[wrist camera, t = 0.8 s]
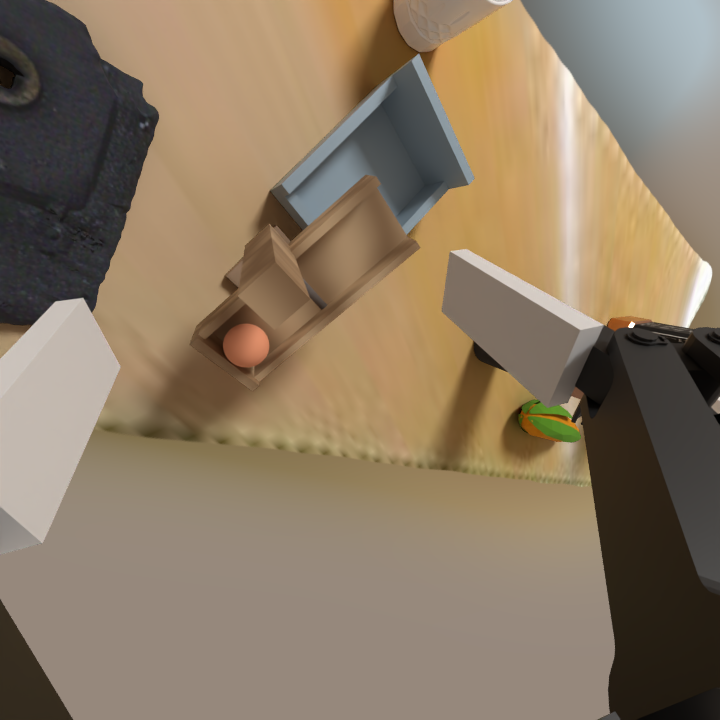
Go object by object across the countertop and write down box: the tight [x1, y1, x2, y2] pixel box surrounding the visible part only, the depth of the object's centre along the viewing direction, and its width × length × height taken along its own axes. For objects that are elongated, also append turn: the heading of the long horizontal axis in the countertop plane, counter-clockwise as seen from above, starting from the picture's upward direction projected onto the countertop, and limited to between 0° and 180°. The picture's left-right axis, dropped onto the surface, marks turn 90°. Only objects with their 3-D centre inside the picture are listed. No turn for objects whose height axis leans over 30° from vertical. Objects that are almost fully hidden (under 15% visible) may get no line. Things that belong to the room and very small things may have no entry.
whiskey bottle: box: [607, 316, 694, 343], centre depth 61 cm, size 10×10×32 cm
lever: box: [190, 175, 420, 391], centre depth 23 cm, size 18×9×12 cm, turn 132°
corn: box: [518, 400, 581, 443], centre depth 65 cm, size 7×8×20 cm
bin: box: [270, 54, 475, 235], centre depth 34 cm, size 16×12×7 cm
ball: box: [223, 324, 269, 367], centre depth 27 cm, size 4×4×4 cm
